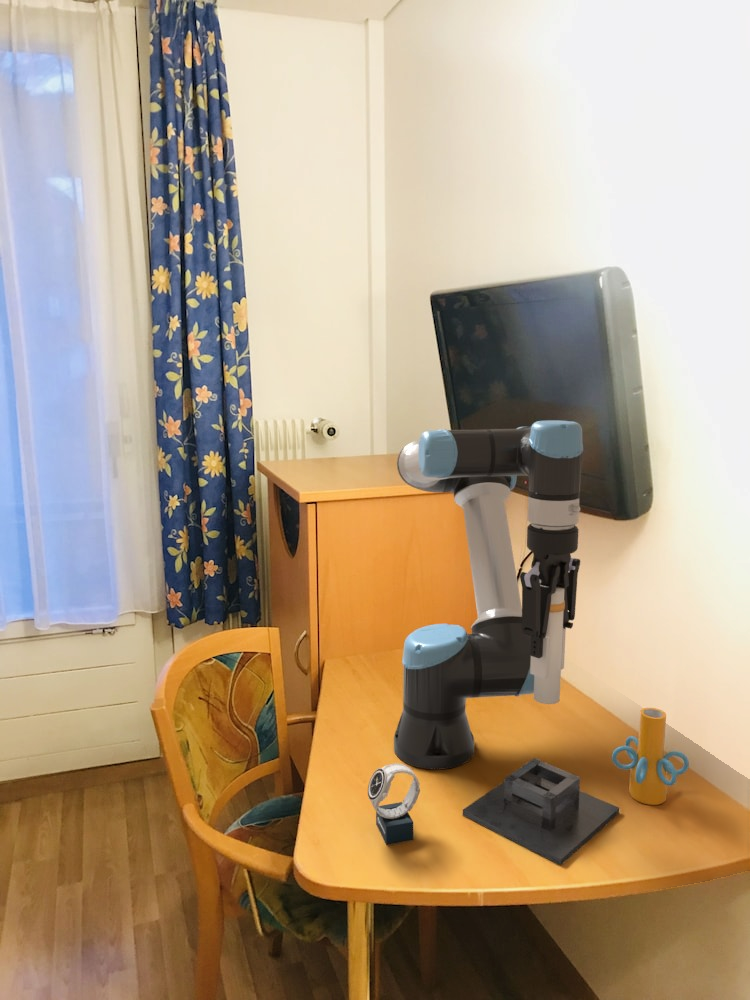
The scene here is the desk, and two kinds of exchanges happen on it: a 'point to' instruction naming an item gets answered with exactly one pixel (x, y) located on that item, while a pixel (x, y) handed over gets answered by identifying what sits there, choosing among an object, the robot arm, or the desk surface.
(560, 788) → the collar stand
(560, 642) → the tube
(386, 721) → the desk surface
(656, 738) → the yellow ring vase
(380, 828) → the watch
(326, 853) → the desk surface
